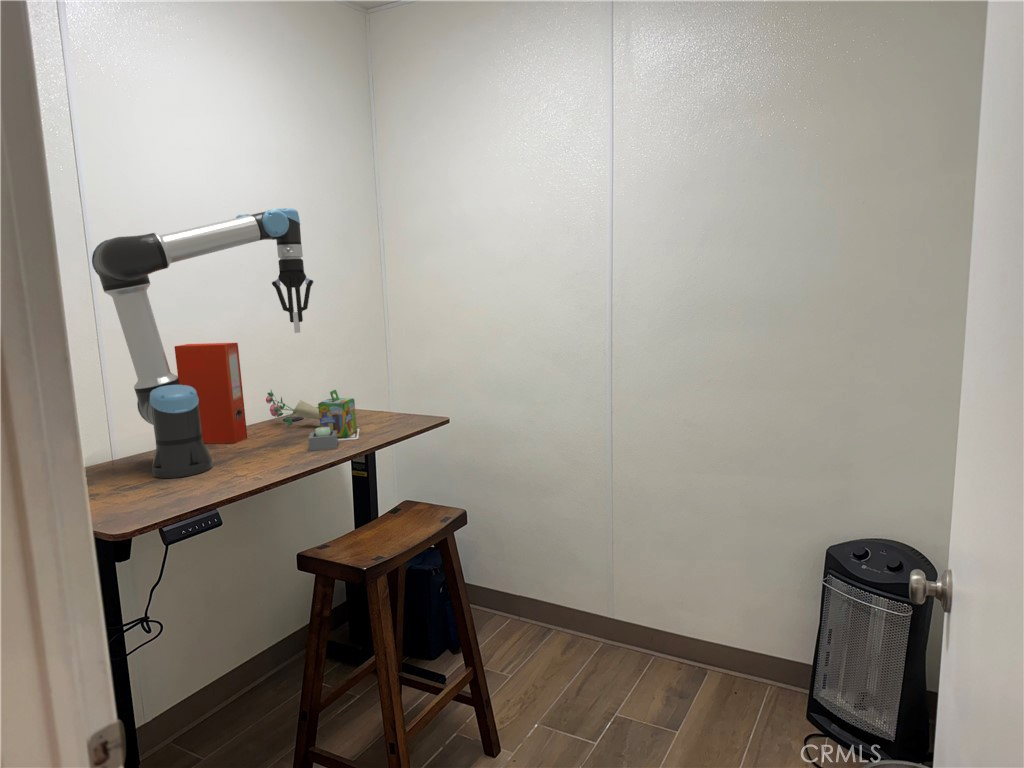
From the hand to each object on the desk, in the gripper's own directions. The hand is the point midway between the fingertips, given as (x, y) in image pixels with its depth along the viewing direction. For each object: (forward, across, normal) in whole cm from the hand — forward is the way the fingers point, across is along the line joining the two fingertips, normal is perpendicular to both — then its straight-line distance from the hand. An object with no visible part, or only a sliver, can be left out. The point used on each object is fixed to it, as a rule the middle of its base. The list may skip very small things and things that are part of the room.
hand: (297, 332), depth 218 cm
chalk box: (+34, +11, -5) cm, 36 cm away
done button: (+33, +7, -18) cm, 38 cm away
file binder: (+35, -29, +3) cm, 45 cm away
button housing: (+34, +7, -18) cm, 39 cm away
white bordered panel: (+34, +11, -5) cm, 36 cm away
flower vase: (+35, -2, +15) cm, 38 cm away
